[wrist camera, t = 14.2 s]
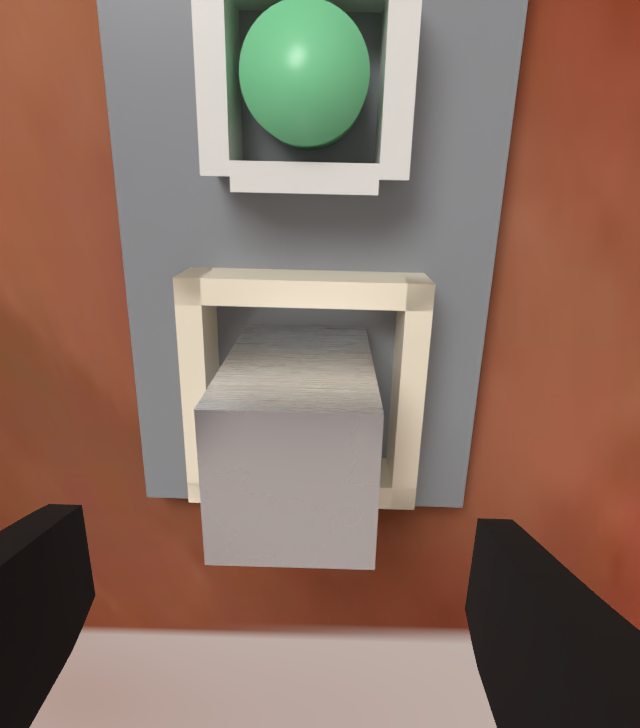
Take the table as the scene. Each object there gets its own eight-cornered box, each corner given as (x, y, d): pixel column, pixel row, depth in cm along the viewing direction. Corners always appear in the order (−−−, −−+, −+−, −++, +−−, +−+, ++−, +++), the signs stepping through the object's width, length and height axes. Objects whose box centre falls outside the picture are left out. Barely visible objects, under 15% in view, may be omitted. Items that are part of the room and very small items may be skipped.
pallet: (156, 480, 21) (125, 533, 18) (107, -60, 15) (46, -124, 12) (455, 489, 21) (477, 545, 18) (522, -54, 15) (573, -118, 12)
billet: (250, 431, 19) (205, 564, 12) (246, 324, 18) (193, 409, 11) (360, 434, 19) (374, 570, 12) (365, 327, 18) (383, 414, 11)
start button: (254, 148, 16) (240, 143, 13) (252, 24, 15) (236, -5, 12) (362, 151, 16) (366, 145, 13) (367, 26, 14) (373, -3, 12)
